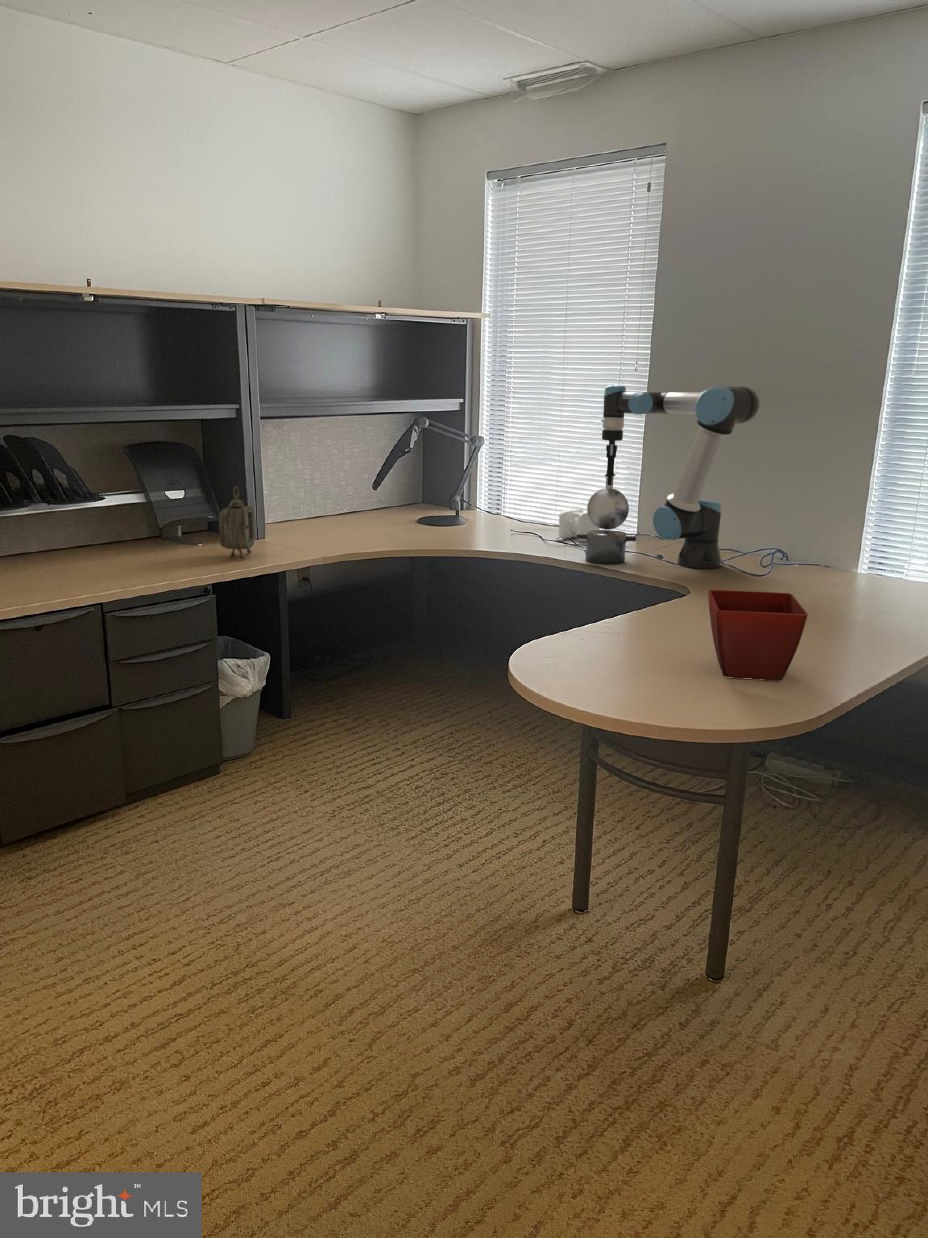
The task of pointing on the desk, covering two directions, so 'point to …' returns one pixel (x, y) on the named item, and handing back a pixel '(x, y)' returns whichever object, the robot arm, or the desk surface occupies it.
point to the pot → (605, 546)
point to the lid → (608, 508)
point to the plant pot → (755, 632)
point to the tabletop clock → (237, 526)
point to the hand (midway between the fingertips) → (608, 493)
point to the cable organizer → (574, 524)
